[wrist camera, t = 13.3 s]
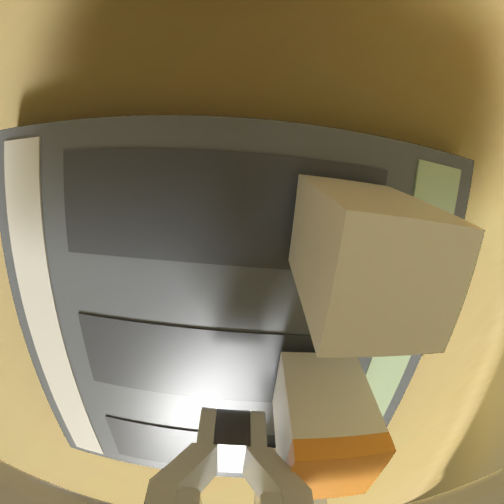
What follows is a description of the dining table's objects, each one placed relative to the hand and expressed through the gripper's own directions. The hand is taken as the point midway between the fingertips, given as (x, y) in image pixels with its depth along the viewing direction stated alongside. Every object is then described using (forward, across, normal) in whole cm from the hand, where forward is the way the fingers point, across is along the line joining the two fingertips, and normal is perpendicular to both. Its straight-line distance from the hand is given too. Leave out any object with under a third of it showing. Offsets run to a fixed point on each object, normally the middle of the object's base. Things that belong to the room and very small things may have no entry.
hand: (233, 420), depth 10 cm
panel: (+4, +1, 0) cm, 4 cm away
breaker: (+2, -3, -7) cm, 8 cm away
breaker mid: (+2, -3, 0) cm, 4 cm away
